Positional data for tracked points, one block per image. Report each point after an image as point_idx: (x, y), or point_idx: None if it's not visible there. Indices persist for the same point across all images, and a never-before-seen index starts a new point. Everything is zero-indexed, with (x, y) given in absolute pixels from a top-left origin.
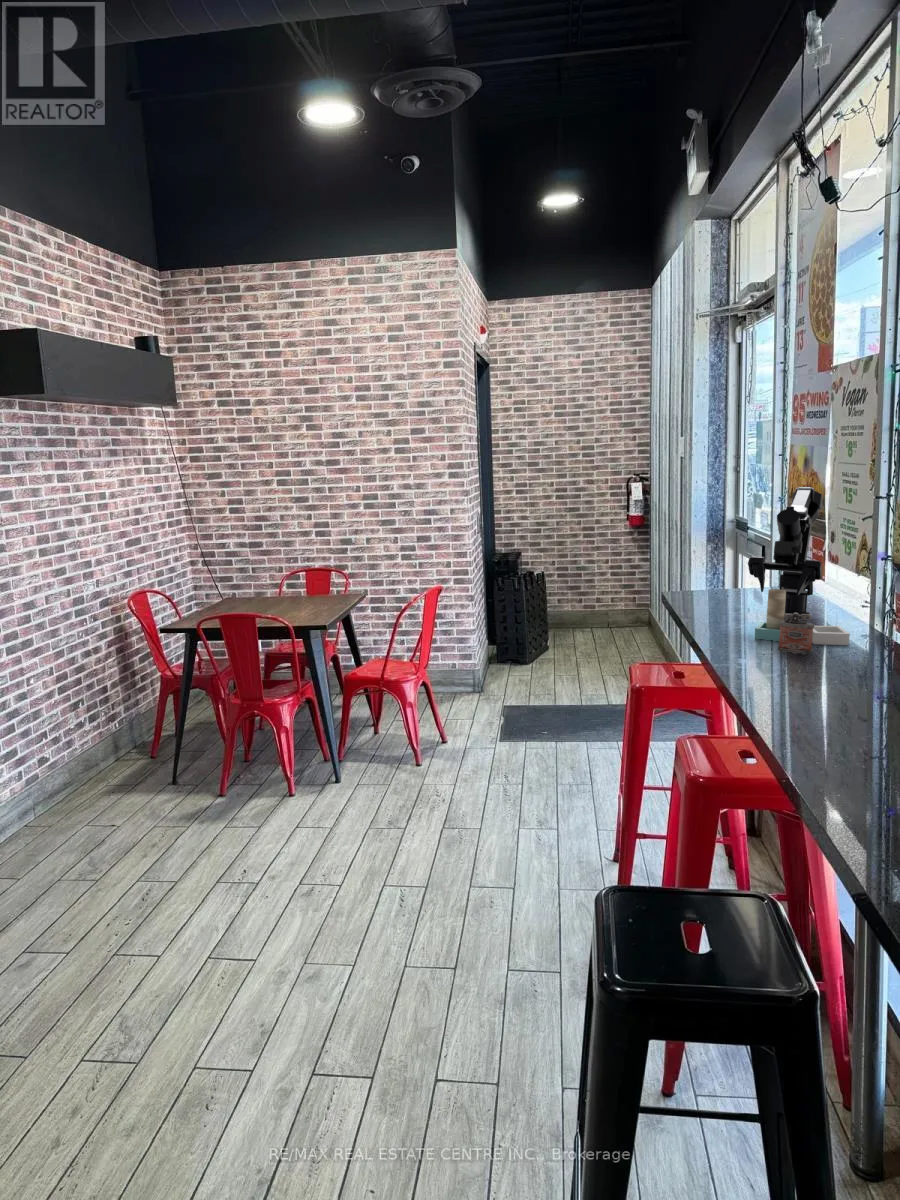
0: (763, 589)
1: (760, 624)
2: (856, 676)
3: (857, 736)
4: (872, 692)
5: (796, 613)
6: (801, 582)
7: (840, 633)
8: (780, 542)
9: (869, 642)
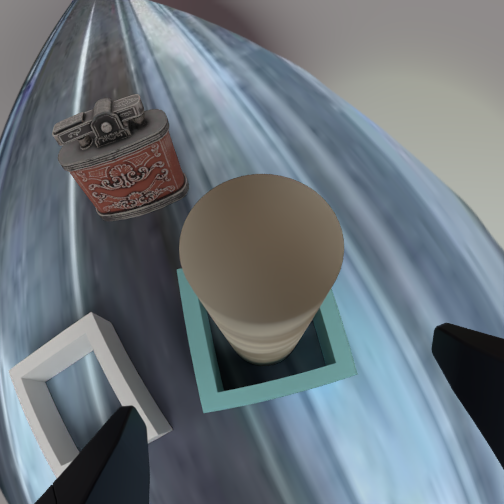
0: (448, 376)
1: (334, 320)
2: (32, 131)
3: (69, 26)
4: (29, 95)
5: (98, 102)
6: (70, 481)
7: (27, 359)
8: None
9: (7, 438)
